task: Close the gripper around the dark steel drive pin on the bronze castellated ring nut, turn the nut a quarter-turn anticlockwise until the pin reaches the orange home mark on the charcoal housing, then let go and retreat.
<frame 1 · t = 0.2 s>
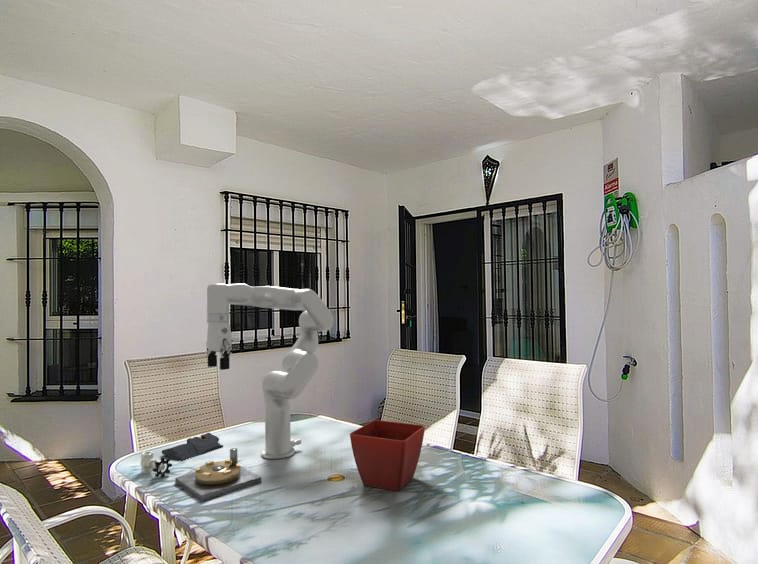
hand: (218, 367, 169), 36 cm above the table, tool pointing down, fingers open, 9 cm apart
ring nut: (218, 464, 158), point 6 cm above the table, hinge at 0.0°
cast iron trivet: (192, 452, 191), on the table
nut housing: (218, 482, 158), on the table
valve: (153, 474, 167), on the table
plant pot: (389, 482, 156), on the table
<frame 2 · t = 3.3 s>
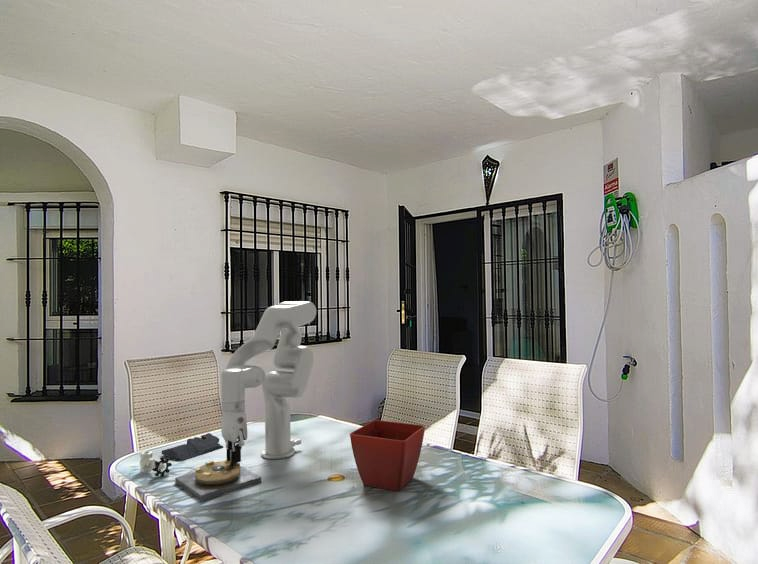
hand: (233, 460, 162), 6 cm above the table, tool pointing down, fingers closed on ring nut, 2 cm apart
ring nut: (218, 464, 158), point 6 cm above the table, hinge at 0.0°, touching gripper
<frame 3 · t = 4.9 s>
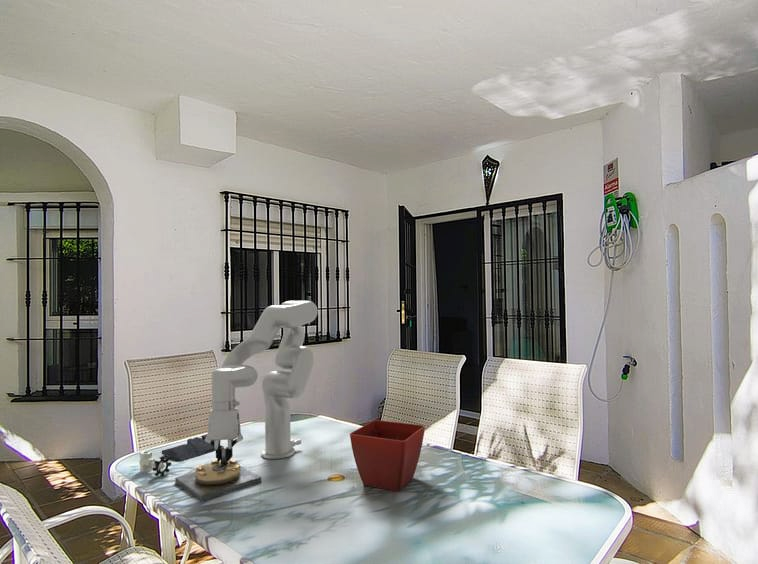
hand: (224, 459, 163), 6 cm above the table, tool pointing down, fingers closed on ring nut, 2 cm apart
ring nut: (218, 464, 158), point 6 cm above the table, hinge at 43.2°, touching gripper
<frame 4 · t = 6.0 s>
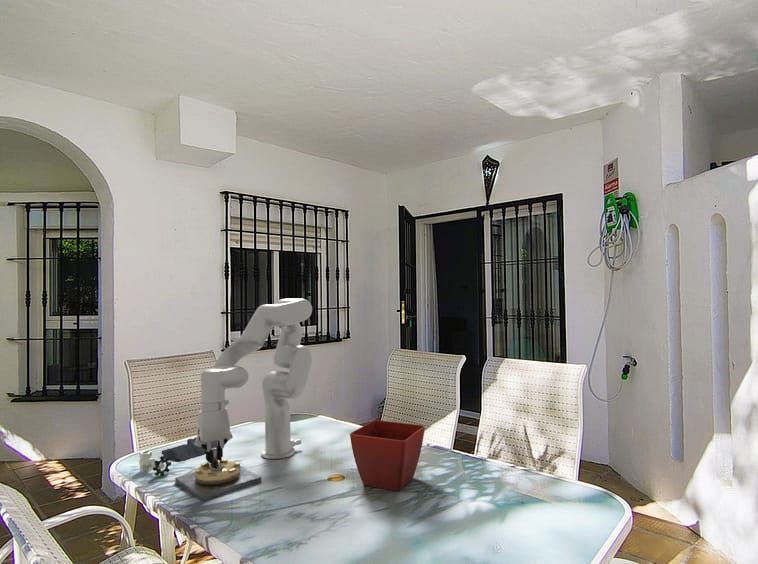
hand: (214, 460, 163), 6 cm above the table, tool pointing down, fingers closed on ring nut, 2 cm apart
ring nut: (218, 464, 158), point 6 cm above the table, hinge at 77.3°, touching gripper
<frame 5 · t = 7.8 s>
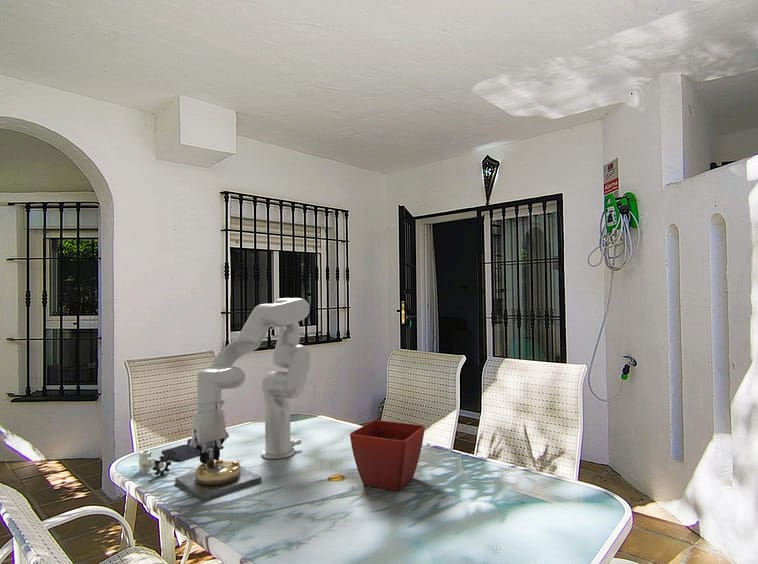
hand: (209, 461, 162), 6 cm above the table, tool pointing down, fingers open, 3 cm apart
ring nut: (218, 464, 158), point 6 cm above the table, hinge at 91.1°
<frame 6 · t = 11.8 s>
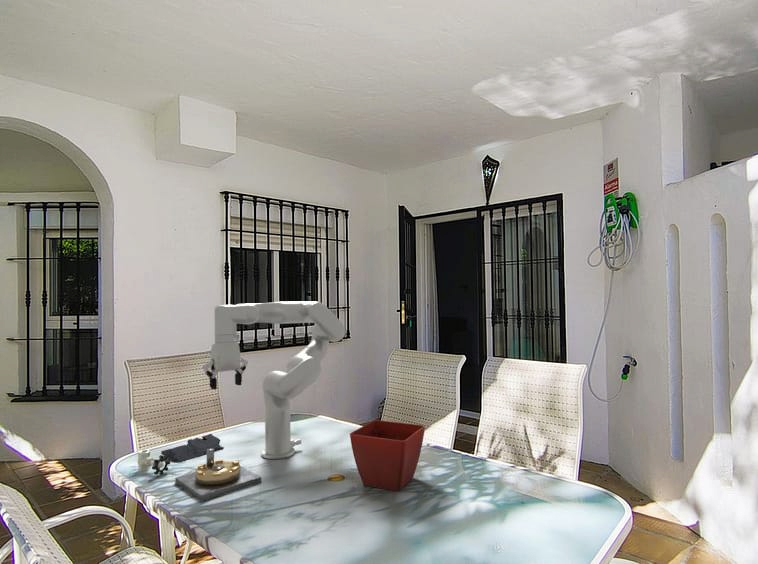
hand: (226, 386, 173), 28 cm above the table, tool pointing down, fingers open, 9 cm apart
at the end: ring nut at +91° (first picture: +0°); the gripper is holding nothing; valve moved 2.7 cm from its start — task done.
